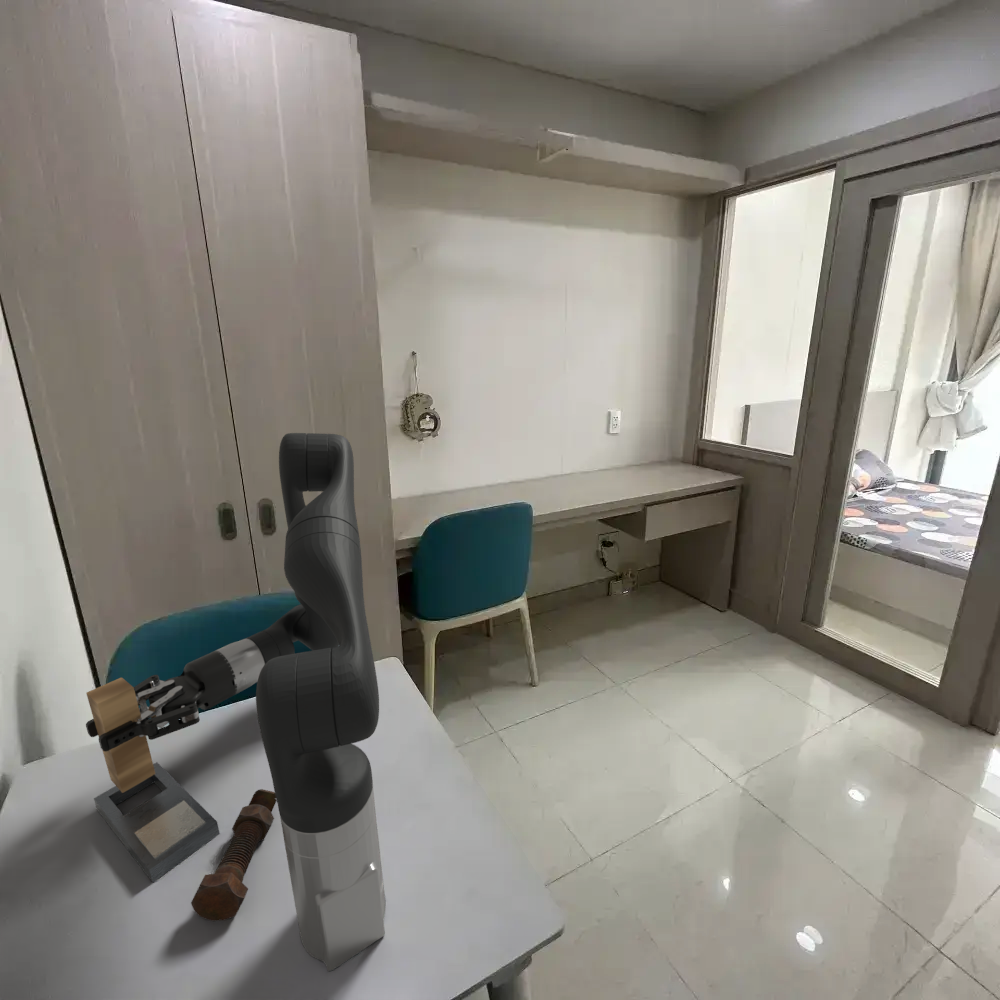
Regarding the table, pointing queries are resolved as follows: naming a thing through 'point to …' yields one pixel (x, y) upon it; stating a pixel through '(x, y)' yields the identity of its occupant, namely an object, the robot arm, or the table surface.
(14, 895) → the table surface
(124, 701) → the wooden peg
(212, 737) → the table surface
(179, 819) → the socket plate
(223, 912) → the bolt
